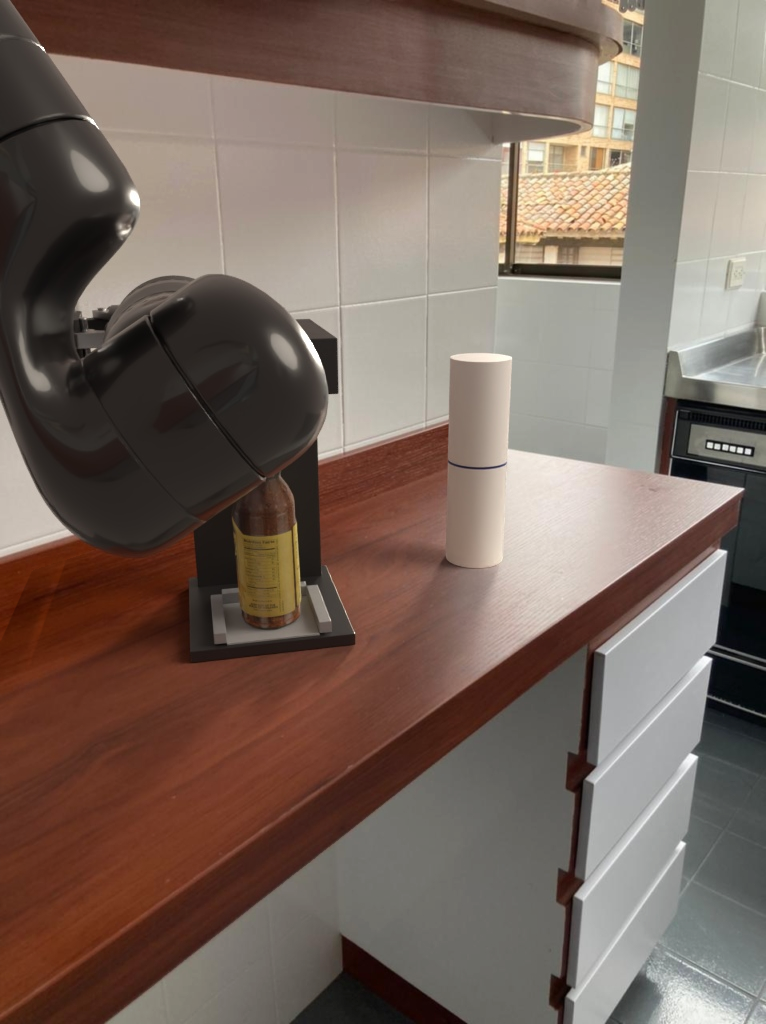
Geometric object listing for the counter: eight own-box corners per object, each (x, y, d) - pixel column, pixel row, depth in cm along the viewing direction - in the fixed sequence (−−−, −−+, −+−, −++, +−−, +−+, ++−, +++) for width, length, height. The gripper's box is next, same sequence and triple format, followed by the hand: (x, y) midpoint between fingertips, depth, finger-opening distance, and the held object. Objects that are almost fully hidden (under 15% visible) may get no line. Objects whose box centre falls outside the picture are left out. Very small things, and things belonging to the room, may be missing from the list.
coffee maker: (191, 663, 78) (162, 345, 68) (189, 587, 94) (166, 322, 85) (355, 644, 81) (350, 339, 71) (326, 574, 98) (319, 318, 88)
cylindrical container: (440, 564, 100) (444, 360, 92) (451, 544, 107) (456, 352, 99) (498, 570, 99) (507, 363, 90) (506, 549, 105) (515, 354, 97)
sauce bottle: (264, 600, 88) (254, 418, 81) (313, 612, 85) (307, 425, 78) (226, 625, 82) (212, 432, 76) (277, 638, 79) (267, 440, 73)
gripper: (307, 277, 44) (274, 264, 59) (26, 281, 41) (66, 266, 56) (311, 414, 47) (278, 368, 62) (47, 427, 43) (79, 376, 58)
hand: (177, 320), depth 59 cm, fingers open, 8 cm apart
